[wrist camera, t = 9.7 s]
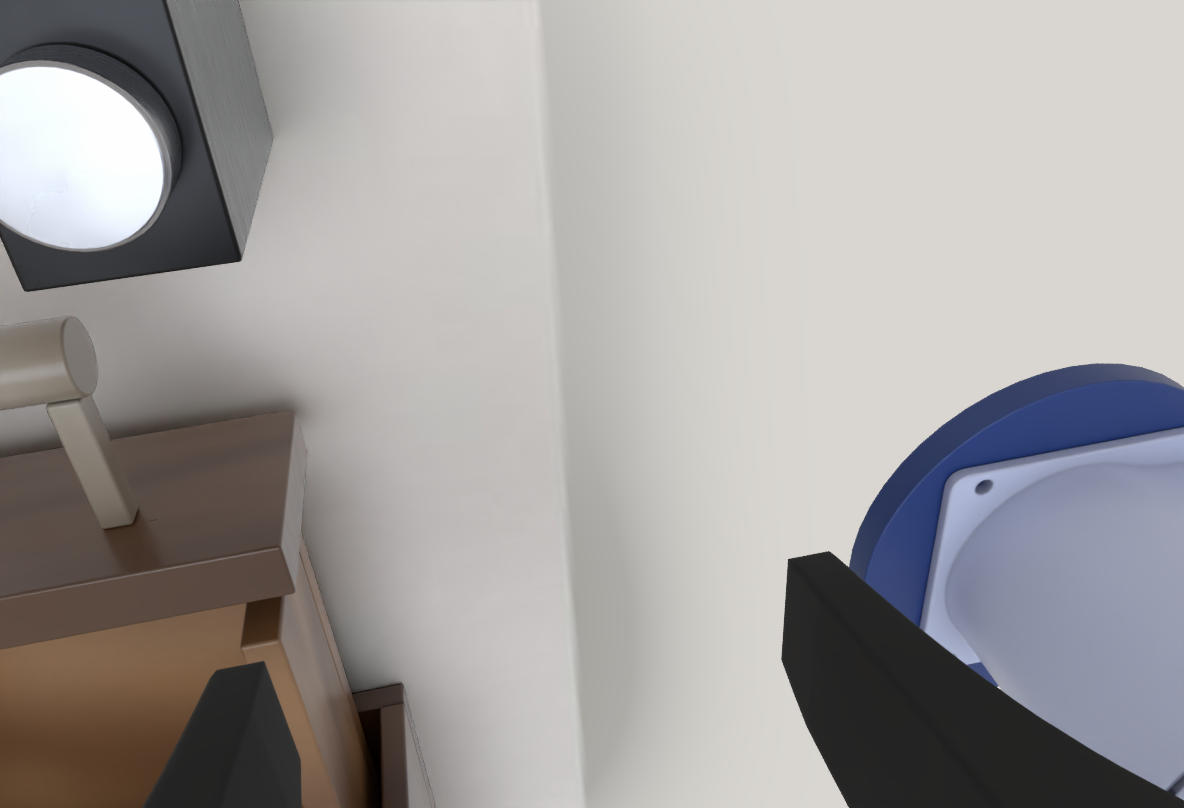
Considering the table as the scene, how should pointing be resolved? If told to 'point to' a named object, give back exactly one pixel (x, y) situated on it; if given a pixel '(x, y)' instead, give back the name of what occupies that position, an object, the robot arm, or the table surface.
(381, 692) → the cabinet
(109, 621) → the drawer
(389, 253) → the table surface
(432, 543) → the table surface
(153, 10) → the push button
